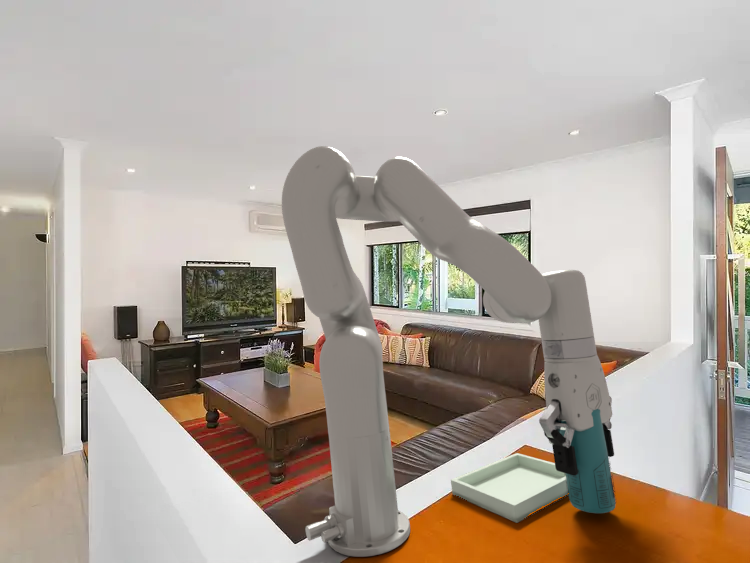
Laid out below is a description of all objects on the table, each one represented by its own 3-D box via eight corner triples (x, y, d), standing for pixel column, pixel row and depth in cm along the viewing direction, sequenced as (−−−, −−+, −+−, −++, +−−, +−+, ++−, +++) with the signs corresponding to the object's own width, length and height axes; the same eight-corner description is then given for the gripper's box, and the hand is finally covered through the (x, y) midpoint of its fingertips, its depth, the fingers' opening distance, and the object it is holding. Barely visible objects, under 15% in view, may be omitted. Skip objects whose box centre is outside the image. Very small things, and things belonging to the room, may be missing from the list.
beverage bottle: (626, 524, 57) (604, 380, 59) (575, 525, 58) (555, 384, 60) (609, 503, 63) (589, 374, 65) (564, 504, 65) (546, 377, 66)
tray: (516, 522, 60) (514, 505, 61) (452, 494, 72) (450, 479, 72) (585, 485, 70) (582, 470, 70) (518, 465, 82) (516, 452, 82)
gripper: (557, 358, 55) (576, 488, 54) (622, 343, 64) (640, 453, 63) (512, 357, 62) (528, 473, 60) (578, 343, 71) (593, 443, 69)
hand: (585, 463), depth 61 cm, fingers open, 9 cm apart
